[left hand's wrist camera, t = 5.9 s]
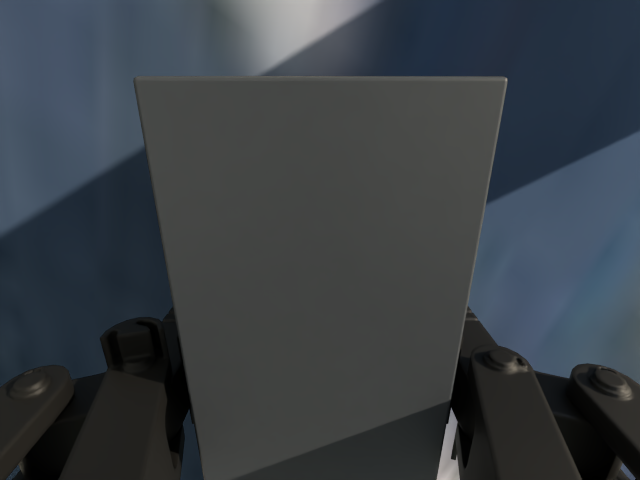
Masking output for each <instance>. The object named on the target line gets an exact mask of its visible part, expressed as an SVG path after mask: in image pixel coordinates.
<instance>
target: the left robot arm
mask: <svg viewBox="0 0 640 480" xmlns="http://www.w3.org/2000/svg"><path fill="white" fill-rule="evenodd" d="M100 341H101V344H102V348H103V352H104V355H105V359H106V362H107V366H108V369H107V371H106V372H104V373H101V374H97V375H92V376H88V377H83V378H78V379H74V380H71V377H70V374H69V371H68V370H67V369H66V368H65V367H63V366H57V365H50V366H42V367H38V368H35V369H31V370H29V371H26V372H24V373H22V374H20V375H18V376H16V377H14V378H12V379H11V380H10V381H8V382H7V383H5V384H4V385H3V386H1V387H0V480H6V478H7V477H8V476H9V475H10V474H11V472H12V471H13V470H14V469H15V468H16V466H17V465H19V467H20V469H21V470H20V471H19V472H18V474H17V475H16V476H15V477H14V478H13V479H12V480H180V476H181V467H182V458H183V449H184V440H185V435H184V428H183V421H184V419H185V417H186V414H187V412H188V410H189V409H190V414H191V420H192V424H194V420H193V415H192V409H191V403H190V398H189V392H188V386H187V381H186V375H185V369H184V364H183V358H182V353H181V347H180V341H179V336H178V330H177V324H176V319H175V313H174V307H172V308H171V310H170V311H169V314H167V315H166V316H165V318H164V319H163V322H161V321H160V320H159V319H156V318H151V317H140V318H135V319H130V320H126V321H124V322H121V323H119V324H117V325H115V326H113V327H112V328H110V329H108V330H107V331H106V332H105V333H104V334H103V335H102V336H101V337H100ZM451 408H452V410H453V412H454V414H455V417H456V419H457V421H458V423H457V428H456V434H455V439H454V444H453V449H452V455H451V459H453V460H456V456H457V457H458V466H459V475H460V480H630V479H629V478H628V477H627V476H626V475H625V474H624V472H623V471H622V470H621V469H620V468H621V466H622V463H624V465H625V466H626V467H627V468H628V469H629V471H630V472H631V473H632V474H633V475H634V477H635V478H636V479H635V480H640V385H639V384H638V383H636V382H635V381H633V380H632V379H631V378H629V377H628V376H626V375H624V374H622V373H620V372H618V371H616V370H614V369H611V368H607V367H605V366H601V365H595V364H580V365H577V366H576V367H574V368H573V369H572V372H571V375H570V378H564V377H560V376H555V375H550V374H546V373H541V372H538V371H534V370H533V368H532V367H531V365H530V364H529V363H528V361H527V360H526V359H525V358H523V357H522V356H521V355H519V354H518V353H516V352H514V351H512V350H510V349H508V348H505V347H501V346H498V345H497V344H496V342H495V341H494V340H493V338H492V337H491V336H490V334H489V333H488V332H487V330H486V329H485V328H484V327H483V325H482V324H481V323H480V321H478V320H477V317H476V316H475V315H474V313H472V311H471V309H470V308H469V307H468V306H467V311H466V317H465V323H464V328H463V334H462V339H461V345H460V351H459V356H458V362H457V367H456V373H455V379H454V384H453V390H452V395H451V401H450V406H449V412H448V418H447V423H446V424H448V421H449V416H450V410H451Z"/></svg>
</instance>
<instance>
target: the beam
mask: <svg viewBox="0 0 640 480" xmlns="http://www.w3.org/2000/svg"><path fill="white" fill-rule="evenodd" d="M133 82H134V87H135V93H136V99H137V104H138V110H139V116H140V121H141V127H142V133H143V138H144V144H145V149H146V155H147V161H148V166H149V172H150V178H151V183H152V189H153V195H154V200H155V206H156V212H157V217H158V223H159V228H160V234H161V240H162V245H163V251H164V257H165V262H166V268H167V274H168V279H169V285H170V290H171V296H172V302H173V307H174V313H175V319H176V324H177V330H178V336H179V341H180V347H181V353H182V358H183V364H184V369H185V375H186V381H187V386H188V392H189V398H190V403H191V409H192V415H193V420H194V426H195V431H196V437H197V443H198V448H199V454H200V460H201V465H202V471H203V477H204V480H436V479H437V474H438V468H439V462H440V457H441V451H442V446H443V440H444V434H445V429H446V423H447V418H448V412H449V406H450V401H451V395H452V390H453V384H454V379H455V373H456V367H457V362H458V356H459V351H460V345H461V339H462V334H463V328H464V323H465V317H466V311H467V306H468V300H469V295H470V289H471V284H472V278H473V272H474V267H475V261H476V256H477V250H478V244H479V239H480V233H481V228H482V222H483V216H484V211H485V205H486V200H487V194H488V188H489V183H490V177H491V172H492V166H493V161H494V155H495V149H496V144H497V138H498V133H499V127H500V121H501V116H502V110H503V105H504V99H505V93H506V88H507V82H508V81H507V78H506V77H504V76H137V77H135V78H134V81H133Z"/></svg>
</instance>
